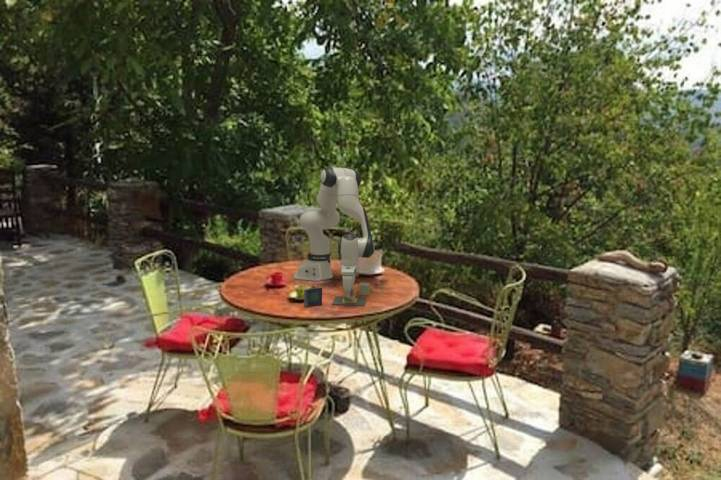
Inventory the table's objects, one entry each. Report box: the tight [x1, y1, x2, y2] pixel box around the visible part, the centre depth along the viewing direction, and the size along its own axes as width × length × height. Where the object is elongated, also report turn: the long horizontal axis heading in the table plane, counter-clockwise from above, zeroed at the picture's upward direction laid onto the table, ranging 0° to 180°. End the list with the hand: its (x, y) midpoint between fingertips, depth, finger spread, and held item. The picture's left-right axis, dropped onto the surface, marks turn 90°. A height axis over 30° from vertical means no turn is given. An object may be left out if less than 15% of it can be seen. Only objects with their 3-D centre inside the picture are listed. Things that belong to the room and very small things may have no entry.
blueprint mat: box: [331, 295, 368, 307], centre depth 291 cm, size 16×13×1 cm
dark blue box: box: [303, 283, 323, 308], centre depth 284 cm, size 9×3×11 cm, turn 117°
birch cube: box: [343, 288, 356, 302], centre depth 290 cm, size 5×5×5 cm
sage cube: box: [358, 282, 371, 296], centre depth 305 cm, size 5×5×5 cm
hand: (349, 294), depth 290 cm, fingers open, 8 cm apart
